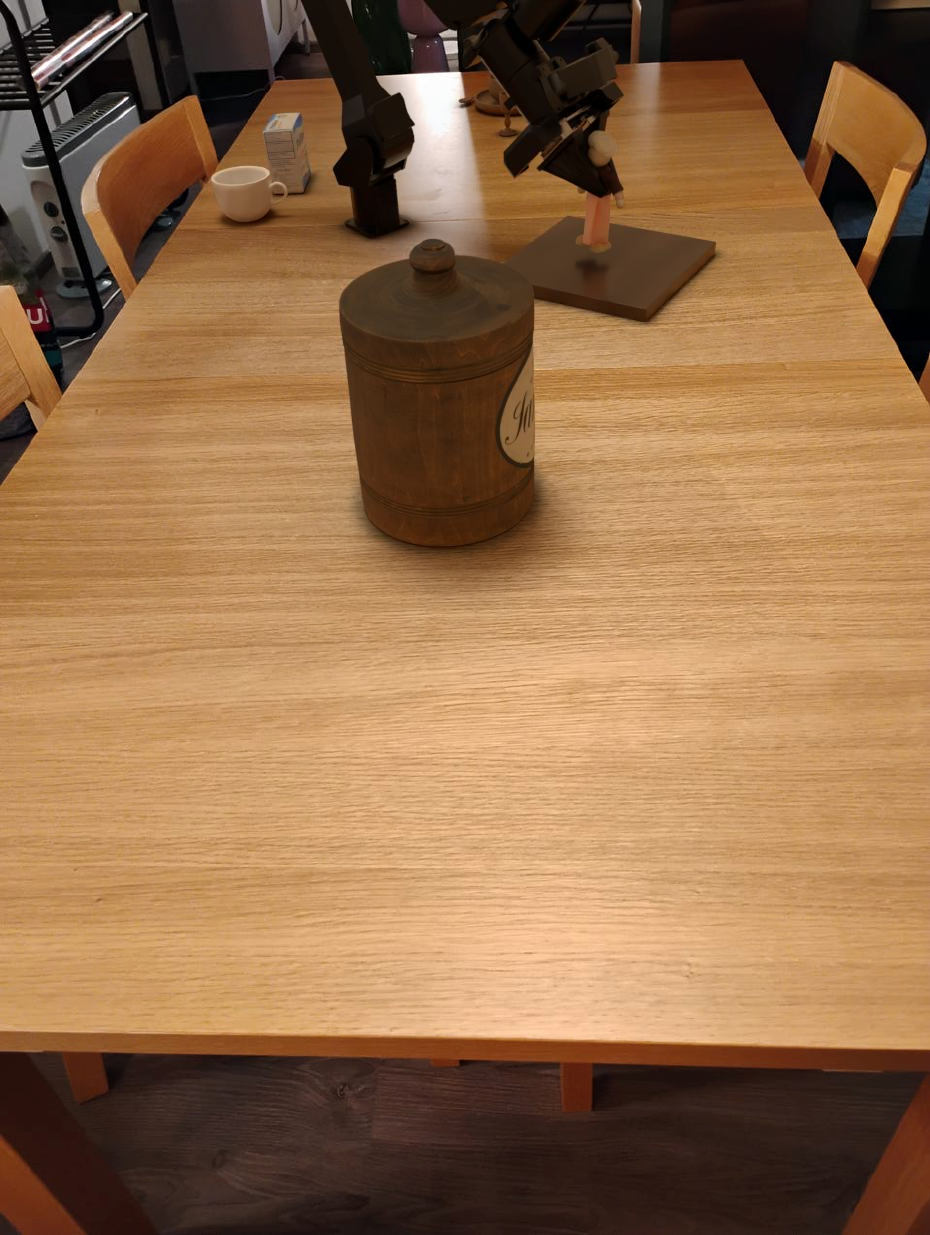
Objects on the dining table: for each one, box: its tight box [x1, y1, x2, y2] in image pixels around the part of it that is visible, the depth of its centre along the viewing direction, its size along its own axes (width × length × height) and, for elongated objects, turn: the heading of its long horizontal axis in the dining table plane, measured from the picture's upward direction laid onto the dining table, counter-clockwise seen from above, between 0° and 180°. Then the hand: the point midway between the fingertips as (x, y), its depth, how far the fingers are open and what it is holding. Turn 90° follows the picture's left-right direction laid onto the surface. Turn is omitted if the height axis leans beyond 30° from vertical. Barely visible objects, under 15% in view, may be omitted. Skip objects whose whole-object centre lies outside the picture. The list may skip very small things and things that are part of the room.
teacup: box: [210, 165, 289, 223], centre depth 135 cm, size 10×8×5 cm
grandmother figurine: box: [575, 130, 626, 253], centre depth 112 cm, size 8×4×13 cm, turn 46°
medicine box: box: [262, 112, 312, 195], centre depth 142 cm, size 8×4×9 cm, turn 179°
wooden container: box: [338, 238, 536, 547], centre depth 78 cm, size 15×15×22 cm
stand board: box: [502, 215, 717, 323], centre depth 117 cm, size 20×20×2 cm
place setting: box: [458, 73, 521, 137], centre depth 163 cm, size 18×20×6 cm
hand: (610, 191), depth 111 cm, fingers closed on grandmother figurine, 3 cm apart
